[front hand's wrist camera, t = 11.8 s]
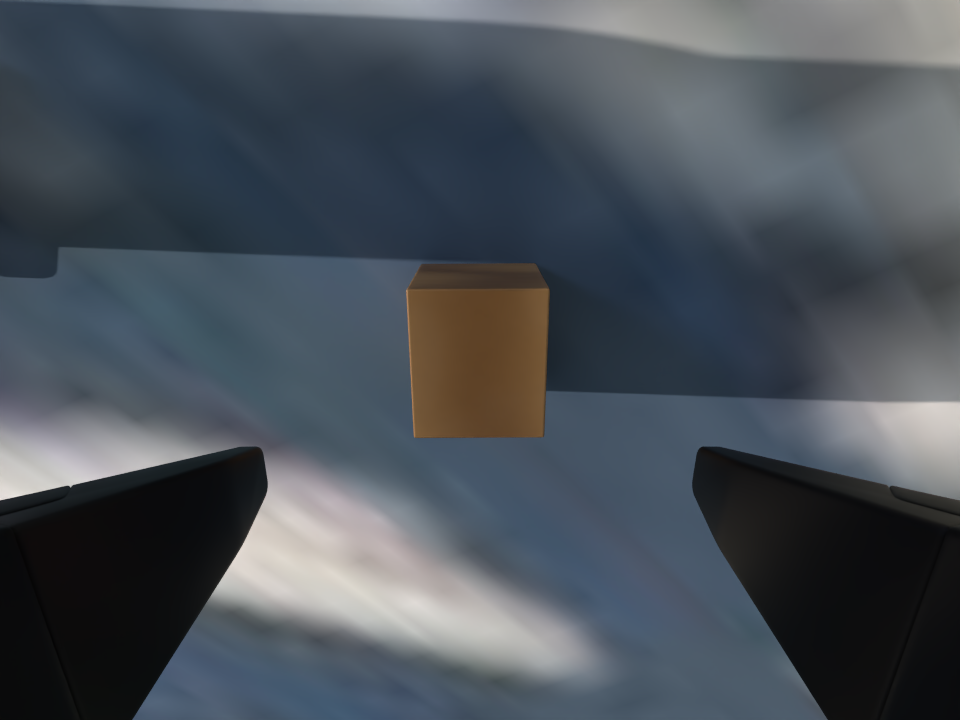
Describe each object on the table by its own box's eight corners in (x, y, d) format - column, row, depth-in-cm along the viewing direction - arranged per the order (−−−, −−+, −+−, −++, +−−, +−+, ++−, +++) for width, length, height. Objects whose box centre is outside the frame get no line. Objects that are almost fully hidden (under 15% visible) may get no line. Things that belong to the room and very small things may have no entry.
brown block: (426, 387, 22) (413, 438, 18) (421, 263, 20) (405, 289, 16) (532, 386, 22) (544, 437, 18) (535, 262, 20) (550, 288, 16)
